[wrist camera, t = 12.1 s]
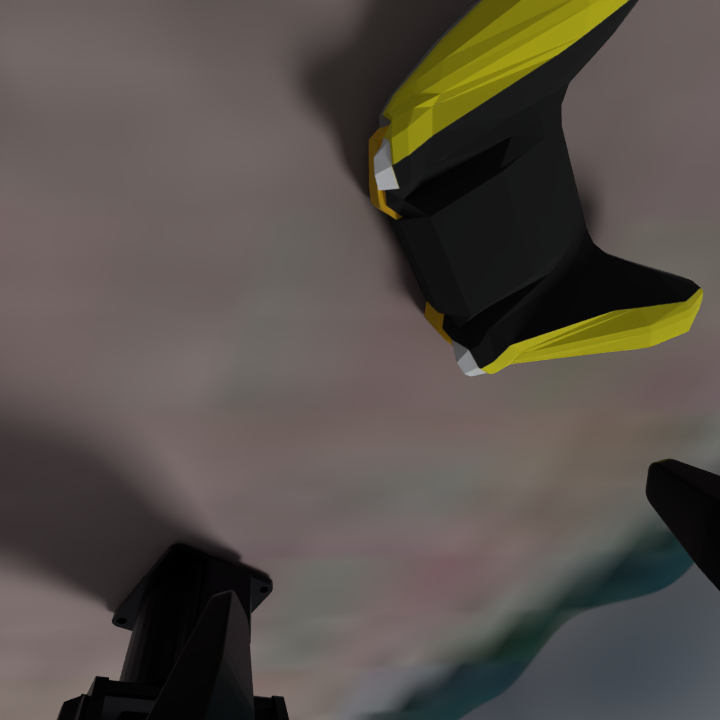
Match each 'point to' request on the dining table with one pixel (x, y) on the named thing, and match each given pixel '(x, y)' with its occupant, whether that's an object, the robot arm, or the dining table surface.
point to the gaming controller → (511, 194)
